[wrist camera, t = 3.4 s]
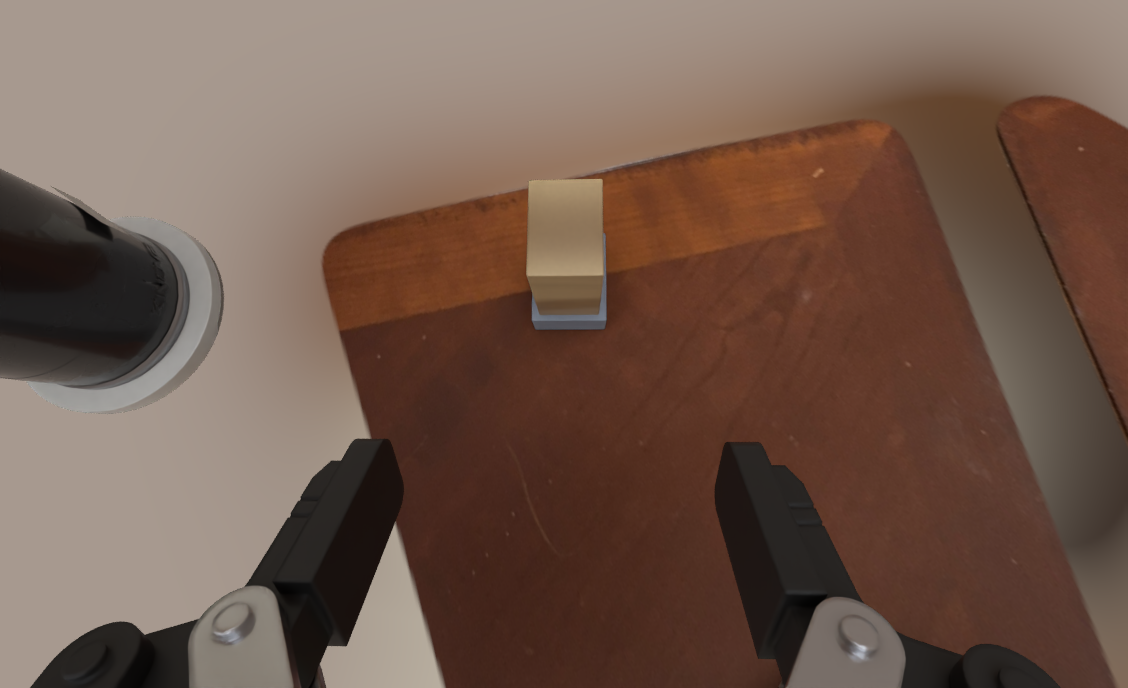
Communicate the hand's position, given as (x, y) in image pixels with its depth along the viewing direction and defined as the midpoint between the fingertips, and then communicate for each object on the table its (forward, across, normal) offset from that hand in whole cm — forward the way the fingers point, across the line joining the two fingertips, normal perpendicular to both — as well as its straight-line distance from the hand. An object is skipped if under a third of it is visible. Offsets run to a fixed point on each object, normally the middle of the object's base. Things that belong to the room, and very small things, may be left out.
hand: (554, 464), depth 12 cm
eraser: (+17, 0, +4) cm, 17 cm away
